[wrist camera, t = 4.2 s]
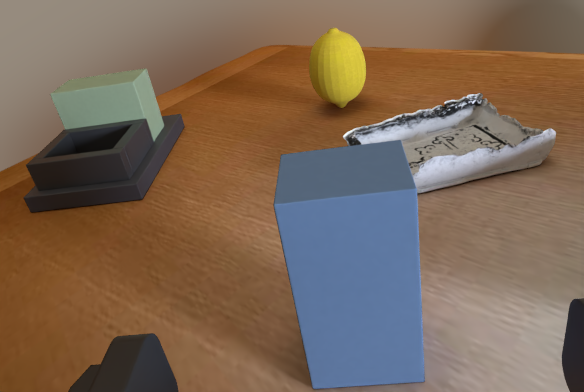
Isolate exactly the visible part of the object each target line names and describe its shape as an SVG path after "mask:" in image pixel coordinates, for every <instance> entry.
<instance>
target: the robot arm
mask: <svg viewBox="0 0 584 392" xmlns="http://www.w3.org/2000/svg"><path fill="white" fill-rule="evenodd" d="M562 366H563V372H564V376H565V380H566V383H567V386H568V388H569V391H570V392H584V298H582V299H574V300H572V302H571V304H570V307H569V313H568V320H567V326H566V333H565V339H564V346H563V352H562ZM68 392H178V386H177V382H176V379H175V377H174V375H173V372H172V370H171V368H170V365H169V363H168V360H167V358H166V356H165V353H164V351H163V349H162V346H161V344H160V342H159V339H158V337H157V336H156V335H155V334H153V333H152V334H140V335H128V336H118V337H116V338H114V339H113V341H112V342H111V344H110V346H109V348H108V350H107V352H106V354H105V356H104V359H103V361H102V363H101V364H99V365H91V366H90V367H89V368H88V369H87V370H86V371H85V372H84V373H83V374H82V376H81V377H80V378H79V379H78V380H77V381H76V382H75V383H74V384H73V385H72V386H71V387H70V389H69V391H68Z"/></svg>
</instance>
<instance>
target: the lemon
mask: <svg viewBox="0 0 584 392" xmlns="http://www.w3.org/2000/svg"><path fill="white" fill-rule="evenodd" d="M309 72H310V78H311V82H312V85H313V87H314V89H315V91H316V92H317V94H318V95H319V96H320V97H321V98H322V99H324V100H325V101H327V102H330V103H334V104H335V105H337V106H338V107H340V108H342V107H345V106H346V104H347V103H348V102H349V101H350V100H352V99H354V98H355V97H356V96H357V95H358V94H359V93H360V91H361V90H362V88H363V85H364V82H365V77H366V64H365V58H364V55H363V52H362V49H361V47H360V45H359V44H358V42H357V41H356V39H355V38H354V37H352V36H351V35H349V34H347V33H345V32H342V31H339V30H338V29H337V28H331V29H329V31H328V32H327V33H326V34H324V35H323V36H321V37H320V38H319V39H318V40H317V41H316V42H315V44H314V45H313V48H312V50H311V54H310V61H309Z"/></svg>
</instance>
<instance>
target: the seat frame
mask: <svg viewBox="0 0 584 392" xmlns="http://www.w3.org/2000/svg"><path fill="white" fill-rule="evenodd" d="M51 97H52V99H53V102H54V104H55V106H56V109H57V111H58V114H59V116H60V118H61V121H62V123H63V125H64V127H65V130H63V131H62V132H61V133H60V134H59V135H58V136H57V137H56V138H55V139H54V140H53V141H52V142H50V143H49V144H48V145H47V146H46V147H45V148H44V149H43V150H42V151H41V152H40V153H39V154H38V155H36V156H35V157H34V158H33V159H32V160H31V161H30V162H29V163H28V164H27V165H26V166H27V168H28V170H29V172H30V175H31V177H32V179H33V181H34V183H35V186H34V188H33V189H32V190H31V191H30V192H29V193H28V194H27V195H26V196H25V197H24V200H25V202H26V204H27V206H28V208H29V210H30V212H38V211H47V210H55V209H63V208H72V207H80V206H89V205H97V204H106V203H114V202H123V201H131V200H140V199H143V197H144V195H145V194H146V192H147V190H148V189H149V187H150V185H151V183H152V182H153V180H154V178H155V176H156V175H157V173H158V171H159V170H160V168H161V166H162V164H163V163H164V161H165V159H166V157H167V156H168V154H169V152H170V151H171V149H172V147H173V145H174V144H175V142H176V140H177V139H178V137H179V135H180V133H181V132H182V130H183V128H184V123H183V120H182V116H181V114H177V115H170V116H163V117H162V116H161V113H160V110H159V107H158V104H157V101H156V97H155V94H154V91H153V88H152V85H151V82H150V78H149V75H148V72H147V69H139V70H132V71H126V72H119V73H113V74H106V75H100V76H93V77H87V78H81V79H74V80H69V81H67V82H66V83H65V84H63V85H62V86H61V87H59V88H58V89H57V90H55V91H54V92H53V93H51Z"/></svg>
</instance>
